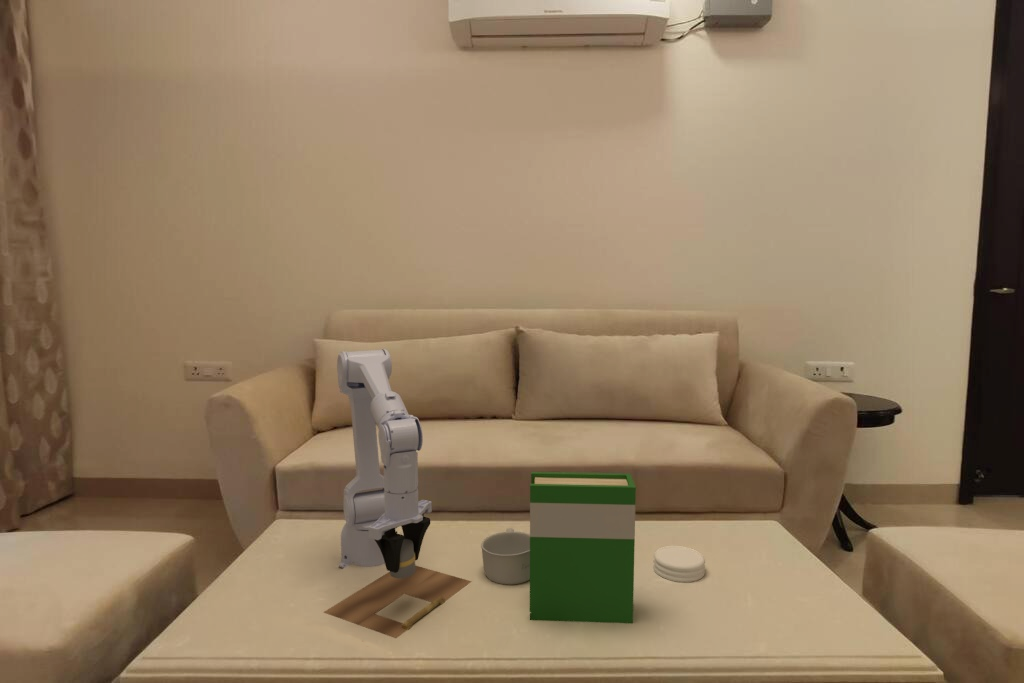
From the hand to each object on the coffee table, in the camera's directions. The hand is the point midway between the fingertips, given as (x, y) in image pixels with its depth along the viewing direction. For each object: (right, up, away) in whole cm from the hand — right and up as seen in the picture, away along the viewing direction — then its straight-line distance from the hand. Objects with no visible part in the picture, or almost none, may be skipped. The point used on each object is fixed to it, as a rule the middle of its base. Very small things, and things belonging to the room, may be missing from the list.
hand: (402, 564), depth 113 cm
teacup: (+19, -8, +16) cm, 26 cm away
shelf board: (-1, -9, +5) cm, 10 cm away
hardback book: (+31, -9, +3) cm, 33 cm away
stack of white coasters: (+52, -8, +18) cm, 56 cm away
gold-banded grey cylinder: (0, -1, 0) cm, 1 cm away
